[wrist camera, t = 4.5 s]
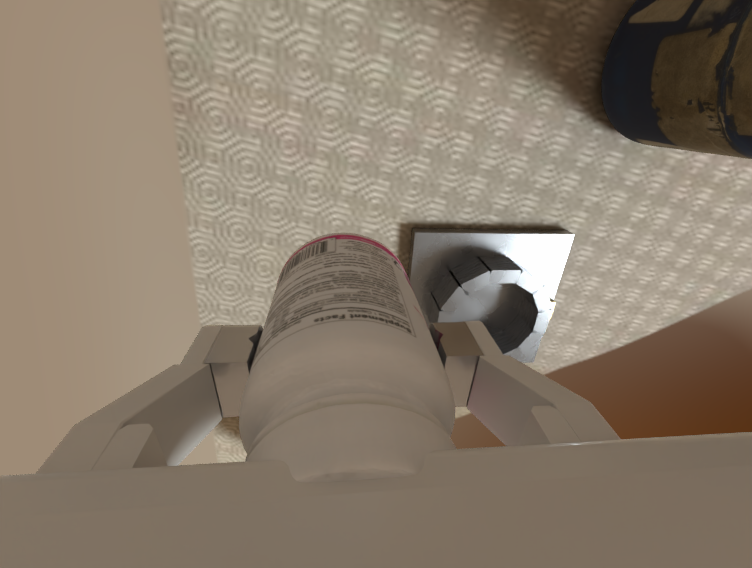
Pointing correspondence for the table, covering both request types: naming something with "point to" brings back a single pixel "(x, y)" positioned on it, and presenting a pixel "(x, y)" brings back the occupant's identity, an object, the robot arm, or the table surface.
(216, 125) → the table surface
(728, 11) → the canister
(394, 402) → the pill bottle
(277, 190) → the table surface
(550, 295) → the lock socket
